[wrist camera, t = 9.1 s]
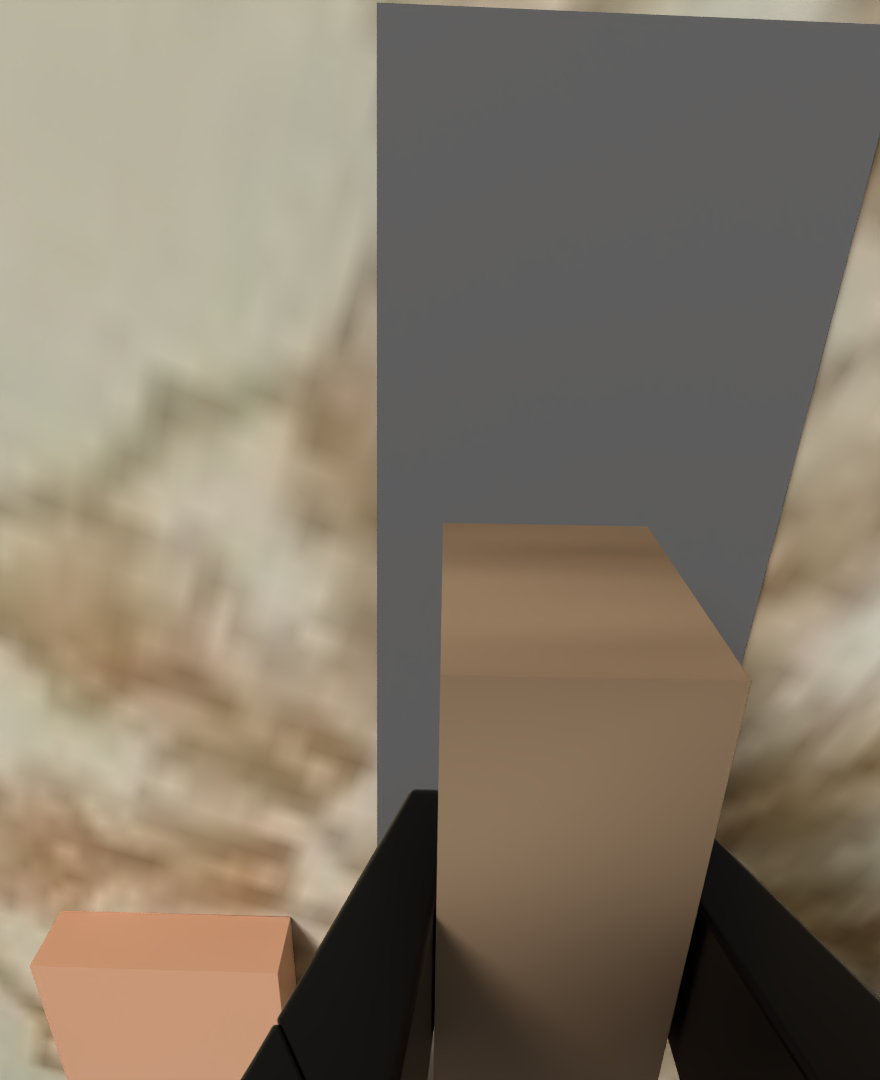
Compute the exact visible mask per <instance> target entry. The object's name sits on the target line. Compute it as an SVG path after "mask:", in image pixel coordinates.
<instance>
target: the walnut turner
mask: <svg viewBox="0 0 880 1080" xmlns="http://www.w3.org/2000/svg"><path fill="white" fill-rule="evenodd" d="M750 685H751V680H750V678H749V677H748V675H747V674H746V672H745V671H744V669H743V668H742V666H741V665H740V663H739V662H738V660H737V659H736V657H735V656H734V654H733V653H732V651H731V650H730V648H729V647H728V645H727V644H726V642H725V641H724V639H723V638H722V636H721V635H720V633H719V632H718V630H717V629H716V627H715V626H714V625H713V623H712V622H711V620H710V619H709V617H708V616H707V614H706V613H705V611H704V610H703V608H702V607H701V605H700V604H699V602H698V601H697V599H696V598H695V596H694V595H693V593H692V592H691V590H690V589H689V587H688V586H687V584H686V583H685V581H684V580H683V578H682V577H681V575H680V574H679V573H678V571H677V570H676V568H675V567H674V565H673V564H672V562H671V561H670V559H669V558H668V556H667V555H666V553H665V552H664V550H663V549H662V547H661V546H660V544H659V543H658V541H657V540H656V538H655V537H654V535H653V534H652V532H651V531H650V529H649V528H648V526H597V525H538V524H479V523H443V553H442V609H441V665H440V723H439V782H438V841H437V900H436V958H435V1017H434V1034H433V1040H432V1048H431V1056H430V1064H429V1072H428V1080H658V1077H659V1072H660V1068H661V1064H662V1060H663V1055H664V1051H665V1047H666V1043H667V1038H668V1034H669V1030H670V1026H671V1021H672V1017H673V1013H674V1009H675V1004H676V1000H677V996H678V991H679V987H680V983H681V979H682V974H683V970H684V966H685V962H686V957H687V953H688V949H689V945H690V940H691V936H692V932H693V928H694V923H695V919H696V915H697V911H698V906H699V902H700V898H701V894H702V889H703V885H704V881H705V877H706V872H707V868H708V864H709V860H710V855H711V851H712V847H713V843H714V838H715V834H716V830H717V826H718V821H719V817H720V813H721V808H722V804H723V800H724V796H725V791H726V787H727V783H728V779H729V774H730V770H731V766H732V762H733V757H734V753H735V749H736V745H737V740H738V736H739V732H740V728H741V723H742V719H743V715H744V711H745V706H746V702H747V698H748V694H749V689H750Z"/></svg>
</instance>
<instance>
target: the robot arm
mask: <svg viewBox="0 0 880 1080" xmlns="http://www.w3.org/2000/svg"><path fill="white" fill-rule="evenodd" d="M437 841H438V790H430V789H414V790H412V791H411V792H410V793H409V794H408V795H407V797H406V799H405V801H404V802H403V804H402V806H401V807H400V809H399V811H398V813H397V814H396V816H395V818H394V819H393V821H392V823H391V825H390V826H389V828H388V830H387V831H386V833H385V835H384V836H383V838H382V840H381V842H380V843H379V845H378V847H377V848H376V850H375V852H374V854H373V855H372V857H371V859H370V860H369V862H368V864H367V866H366V867H365V869H364V871H363V872H362V874H361V876H360V878H359V879H358V881H357V883H356V884H355V886H354V888H353V890H352V891H351V893H350V895H349V896H348V898H347V900H346V902H345V903H344V905H343V907H342V908H341V910H340V912H339V914H338V915H337V917H336V919H335V920H334V922H333V924H332V926H331V927H330V929H329V931H328V932H327V934H326V936H325V938H324V939H323V941H322V943H321V944H320V946H319V948H318V949H317V951H316V953H315V955H314V956H313V958H312V960H311V961H310V963H309V965H308V967H307V968H306V970H305V972H304V973H303V975H302V977H301V979H300V980H299V982H298V984H297V985H296V987H295V989H294V991H293V992H292V994H291V996H290V997H289V999H288V1001H287V1003H286V1004H285V1006H284V1008H283V1009H282V1011H281V1013H280V1015H279V1016H278V1018H277V1024H278V1025H273V1026H272V1028H271V1029H270V1031H269V1033H268V1034H267V1036H266V1038H265V1040H264V1041H263V1043H262V1045H261V1046H260V1048H259V1050H258V1052H257V1053H256V1055H255V1057H254V1058H253V1060H252V1062H251V1063H250V1065H249V1066H248V1068H247V1070H246V1071H245V1073H244V1075H243V1076H242V1078H241V1079H240V1080H428V1072H429V1064H430V1056H431V1048H432V1040H433V1032H434V1017H435V958H436V900H437ZM668 1040H669V1044H670V1047H671V1051H672V1054H673V1058H674V1061H675V1065H676V1068H677V1072H678V1075H679V1079H680V1080H880V1000H879V999H878V998H877V997H876V996H875V995H874V994H873V993H872V992H871V991H870V990H869V989H868V988H867V987H866V986H865V985H864V984H863V983H862V982H861V981H860V980H859V979H858V978H857V977H856V976H855V975H854V974H853V973H852V972H851V971H850V970H849V969H848V968H847V967H846V966H845V965H844V964H843V963H842V962H841V961H840V960H839V959H838V958H837V957H836V956H835V955H834V954H833V953H832V952H831V951H830V950H829V949H828V948H827V947H826V946H825V945H824V944H823V943H822V942H821V941H820V940H819V939H818V938H817V937H816V936H814V935H813V934H812V933H811V932H810V931H809V930H808V929H807V928H806V927H805V926H804V925H803V924H802V923H801V922H800V921H799V920H798V919H797V918H796V917H795V916H794V915H793V914H792V913H791V912H790V911H789V910H788V909H787V908H786V907H785V906H784V905H783V904H782V903H781V902H780V901H779V900H778V899H777V898H776V897H775V896H774V895H773V894H772V893H771V892H770V891H769V890H768V889H767V888H766V887H765V886H764V885H763V884H762V883H761V882H760V881H759V880H758V879H757V878H756V877H755V876H754V875H753V874H752V873H751V872H750V871H749V870H748V869H747V868H746V867H745V866H744V865H743V864H742V863H741V862H740V861H739V860H738V859H737V858H736V857H735V856H734V855H733V854H732V853H731V852H730V851H729V850H728V849H727V848H726V847H725V846H723V845H722V844H721V843H720V842H719V841H718V840H717V839H716V838H714V843H713V847H712V851H711V855H710V860H709V864H708V868H707V872H706V877H705V881H704V885H703V889H702V894H701V898H700V902H699V906H698V911H697V915H696V919H695V923H694V928H693V932H692V936H691V940H690V945H689V949H688V953H687V957H686V962H685V966H684V970H683V974H682V979H681V983H680V987H679V991H678V996H677V1000H676V1004H675V1009H674V1013H673V1017H672V1021H671V1026H670V1030H669V1034H668Z"/></svg>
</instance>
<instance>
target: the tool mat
mask: <svg viewBox="0 0 880 1080" xmlns="http://www.w3.org/2000/svg"><path fill="white" fill-rule="evenodd" d="M879 135H880V25H877V24H854V23H831V22H808V21H785V20H762V19H739V18H716V17H693V16H670V15H647V14H624V13H601V12H578V11H555V10H532V9H509V8H486V7H463V6H440V5H417V4H394V3H377V847H378V845H379V843H380V842H381V840H382V838H383V836H384V835H385V833H386V831H387V830H388V828H389V826H390V825H391V823H392V821H393V819H394V818H395V816H396V814H397V813H398V811H399V809H400V807H401V806H402V804H403V802H404V801H405V799H406V797H407V795H408V794H409V793H410V792H411V791H412V790H414V789H430V790H438V782H439V723H440V665H441V609H442V553H443V523H479V524H538V525H597V526H648V528H649V529H650V531H651V532H652V534H653V535H654V537H655V538H656V540H657V541H658V543H659V544H660V546H661V547H662V549H663V550H664V552H665V553H666V555H667V556H668V558H669V559H670V561H671V562H672V564H673V565H674V567H675V568H676V570H677V571H678V573H679V574H680V575H681V577H682V578H683V580H684V581H685V583H686V584H687V586H688V587H689V589H690V590H691V592H692V593H693V595H694V596H695V598H696V599H697V601H698V602H699V604H700V605H701V607H702V608H703V610H704V611H705V613H706V614H707V616H708V617H709V619H710V620H711V622H712V623H713V625H714V626H715V627H716V629H717V630H718V632H719V633H720V635H721V636H722V638H723V639H724V641H725V642H726V644H727V645H728V647H729V648H730V650H731V651H732V653H733V654H734V656H735V657H736V659H737V660H738V662H739V663H740V665H741V664H742V660H743V656H744V652H745V648H746V645H747V641H748V637H749V633H750V629H751V625H752V622H753V618H754V614H755V610H756V606H757V602H758V599H759V595H760V591H761V587H762V583H763V579H764V576H765V572H766V568H767V564H768V560H769V557H770V553H771V549H772V545H773V541H774V537H775V534H776V530H777V526H778V522H779V518H780V514H781V511H782V507H783V503H784V499H785V495H786V491H787V488H788V484H789V480H790V476H791V472H792V468H793V465H794V461H795V457H796V453H797V449H798V445H799V442H800V438H801V434H802V430H803V426H804V423H805V419H806V415H807V411H808V407H809V403H810V400H811V396H812V392H813V388H814V384H815V380H816V377H817V373H818V369H819V365H820V361H821V357H822V354H823V350H824V346H825V342H826V338H827V334H828V331H829V327H830V323H831V319H832V315H833V311H834V308H835V304H836V300H837V296H838V292H839V288H840V285H841V281H842V277H843V273H844V269H845V266H846V262H847V258H848V254H849V250H850V246H851V243H852V239H853V235H854V231H855V227H856V223H857V220H858V216H859V212H860V208H861V204H862V200H863V197H864V193H865V189H866V185H867V181H868V177H869V174H870V170H871V166H872V162H873V158H874V154H875V151H876V147H877V143H878V139H879Z"/></svg>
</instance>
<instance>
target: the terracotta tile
mask: <svg viewBox="0 0 880 1080" xmlns="http://www.w3.org/2000/svg"><path fill="white" fill-rule="evenodd" d="M30 968H31V971H32V974H33V977H34V980H35V983H36V986H37V989H38V992H39V996H40V999H41V1002H42V1005H43V1008H44V1011H45V1014H46V1017H47V1020H48V1023H49V1026H50V1029H51V1032H52V1035H53V1038H54V1041H55V1044H56V1047H57V1050H58V1053H59V1056H60V1059H61V1062H62V1065H63V1068H64V1071H65V1074H66V1077H67V1080H240V1079H241V1078H242V1076H243V1075H244V1073H245V1071H246V1070H247V1068H248V1066H249V1065H250V1063H251V1062H252V1060H253V1058H254V1057H255V1055H256V1053H257V1052H258V1050H259V1048H260V1046H261V1045H262V1043H263V1041H264V1040H265V1038H266V1036H267V1034H268V1033H269V1031H270V1029H271V1028H272V1026H273V1025H278V1024H277V1018H278V1016H279V1015H280V1013H281V1011H282V1009H283V1008H284V1006H285V1004H286V1003H287V1001H288V999H289V997H290V996H291V994H292V992H293V991H294V989H295V987H296V974H295V963H294V952H293V941H292V930H291V919H290V917H267V916H233V915H199V914H164V913H127V912H86V911H61V912H60V914H59V915H58V917H57V919H56V921H55V922H54V924H53V926H52V928H51V929H50V931H49V933H48V935H47V937H46V938H45V940H44V942H43V944H42V945H41V947H40V949H39V951H38V952H37V954H36V956H35V958H34V960H33V961H32V963H31V965H30Z"/></svg>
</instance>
